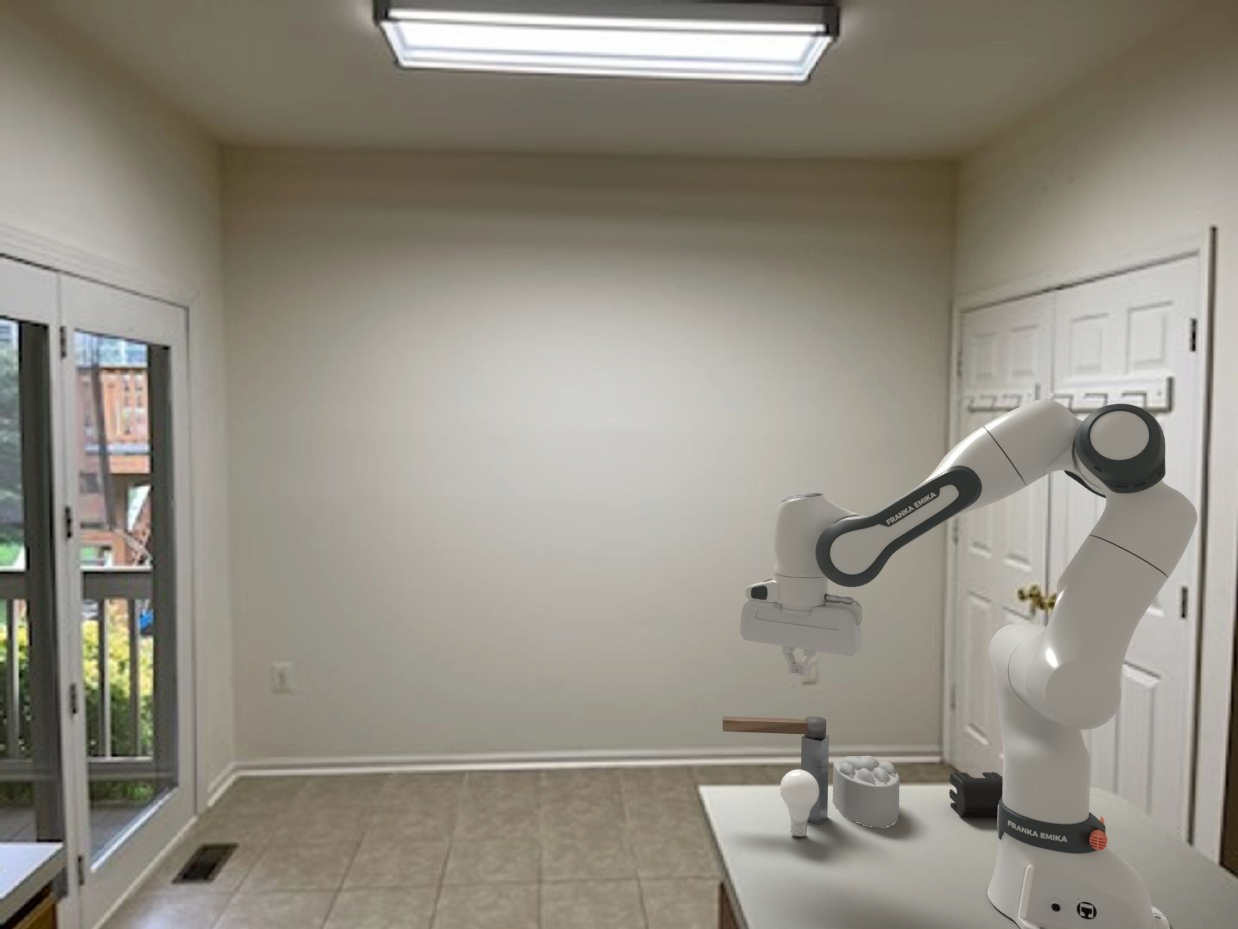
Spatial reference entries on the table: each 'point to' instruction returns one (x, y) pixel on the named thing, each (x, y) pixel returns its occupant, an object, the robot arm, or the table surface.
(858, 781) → the lumpy-topped squat cylinder
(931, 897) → the table surface
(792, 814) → the lightbulb
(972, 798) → the end cap
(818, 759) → the post
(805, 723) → the hammer
